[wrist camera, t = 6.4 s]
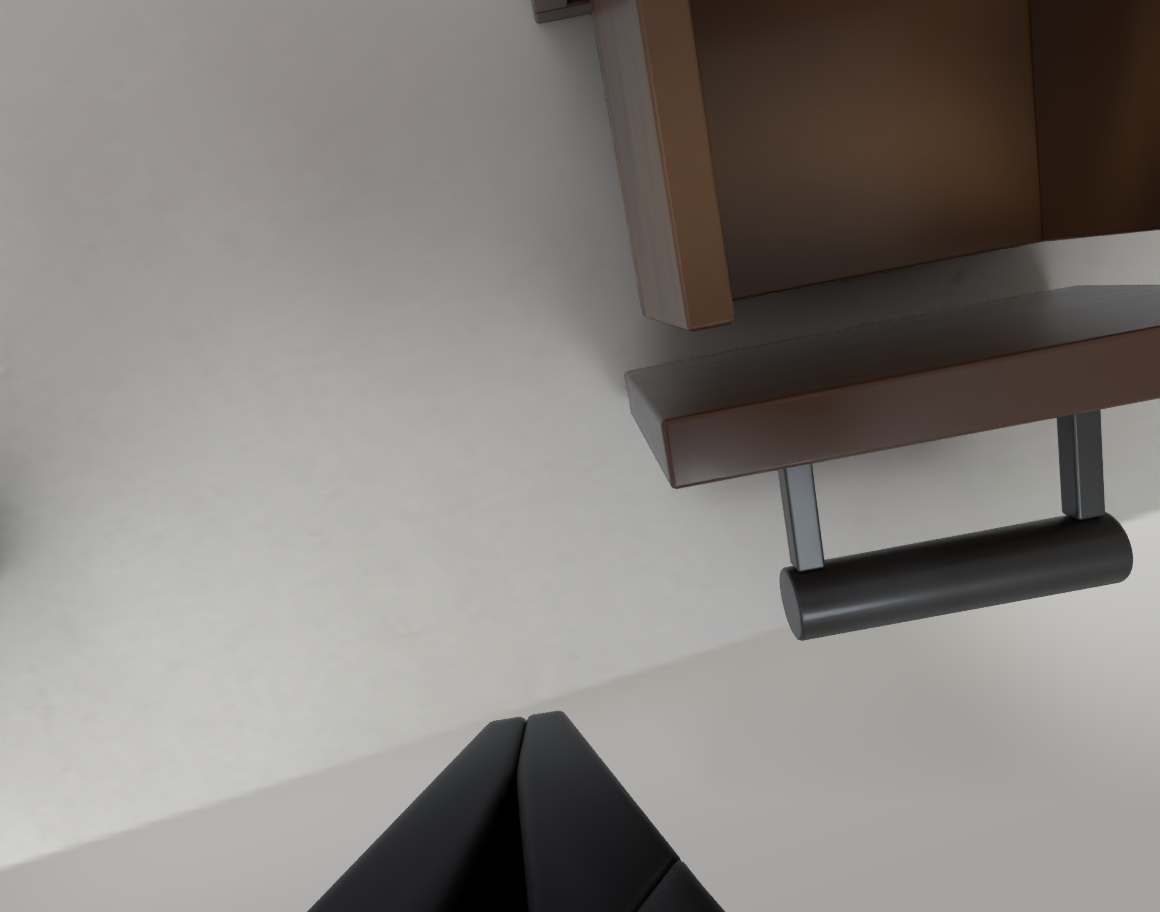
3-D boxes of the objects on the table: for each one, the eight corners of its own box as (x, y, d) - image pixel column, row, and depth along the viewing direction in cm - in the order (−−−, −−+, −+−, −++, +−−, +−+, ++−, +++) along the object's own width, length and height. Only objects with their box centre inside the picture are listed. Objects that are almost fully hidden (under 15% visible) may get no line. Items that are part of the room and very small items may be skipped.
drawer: (1087, 504, 21) (1384, 625, 13) (660, 583, 21) (715, 746, 14) (1049, -267, 17) (1434, -709, 10) (529, -160, 17) (502, -508, 10)
